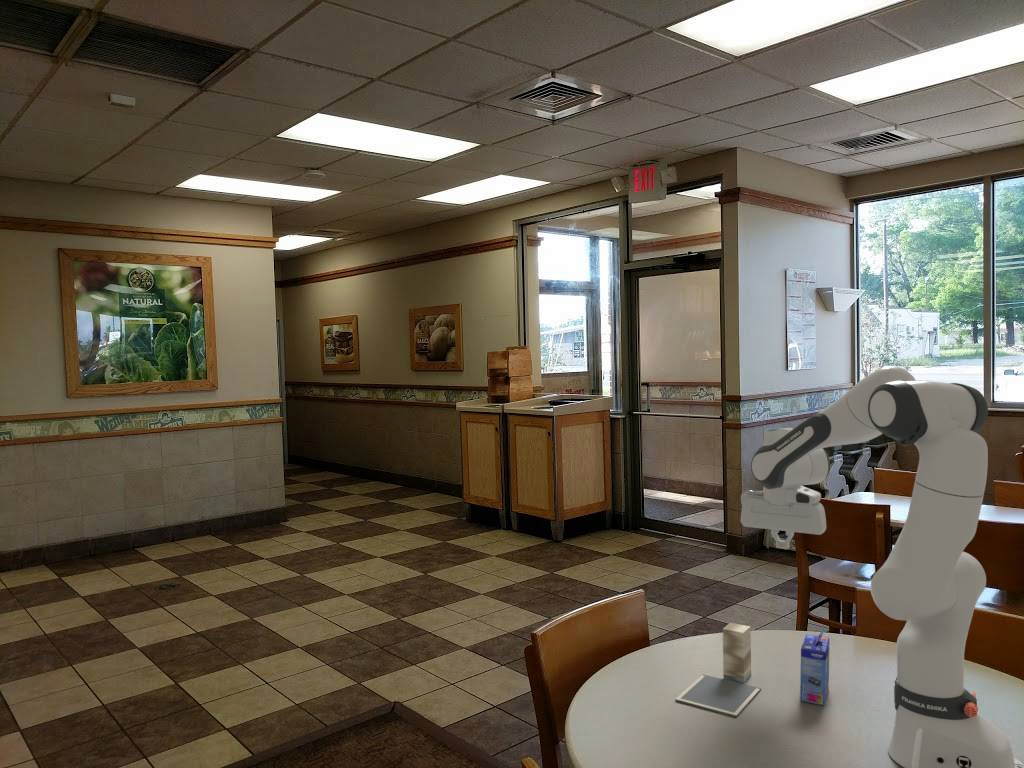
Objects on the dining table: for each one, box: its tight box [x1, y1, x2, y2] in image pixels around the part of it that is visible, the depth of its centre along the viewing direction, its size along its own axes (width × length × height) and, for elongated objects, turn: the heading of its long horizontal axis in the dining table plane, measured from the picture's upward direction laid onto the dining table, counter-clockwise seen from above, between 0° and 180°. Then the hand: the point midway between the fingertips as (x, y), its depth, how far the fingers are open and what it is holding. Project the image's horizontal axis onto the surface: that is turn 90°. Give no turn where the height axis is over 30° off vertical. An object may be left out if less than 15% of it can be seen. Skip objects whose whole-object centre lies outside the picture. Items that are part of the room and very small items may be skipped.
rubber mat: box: [674, 674, 762, 718], centre depth 170 cm, size 14×16×1 cm
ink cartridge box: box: [799, 630, 830, 706], centre depth 169 cm, size 10×6×14 cm, turn 152°
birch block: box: [722, 622, 752, 684], centre depth 180 cm, size 5×5×12 cm
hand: (782, 548), depth 186 cm, fingers closed
